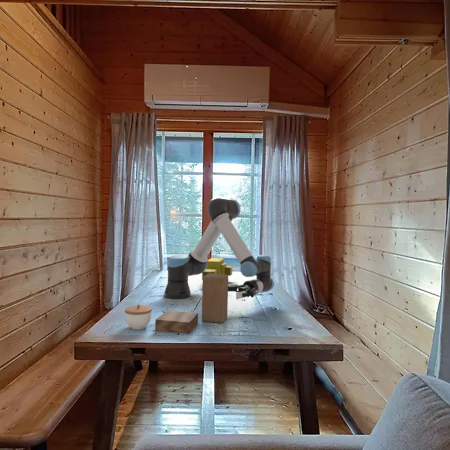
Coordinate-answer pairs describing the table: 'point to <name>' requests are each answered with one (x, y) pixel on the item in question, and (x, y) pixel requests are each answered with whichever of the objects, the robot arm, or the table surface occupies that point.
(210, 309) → the wooden block
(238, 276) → the table surface
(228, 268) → the toy blocks
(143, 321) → the lidded jar
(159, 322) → the base brick
